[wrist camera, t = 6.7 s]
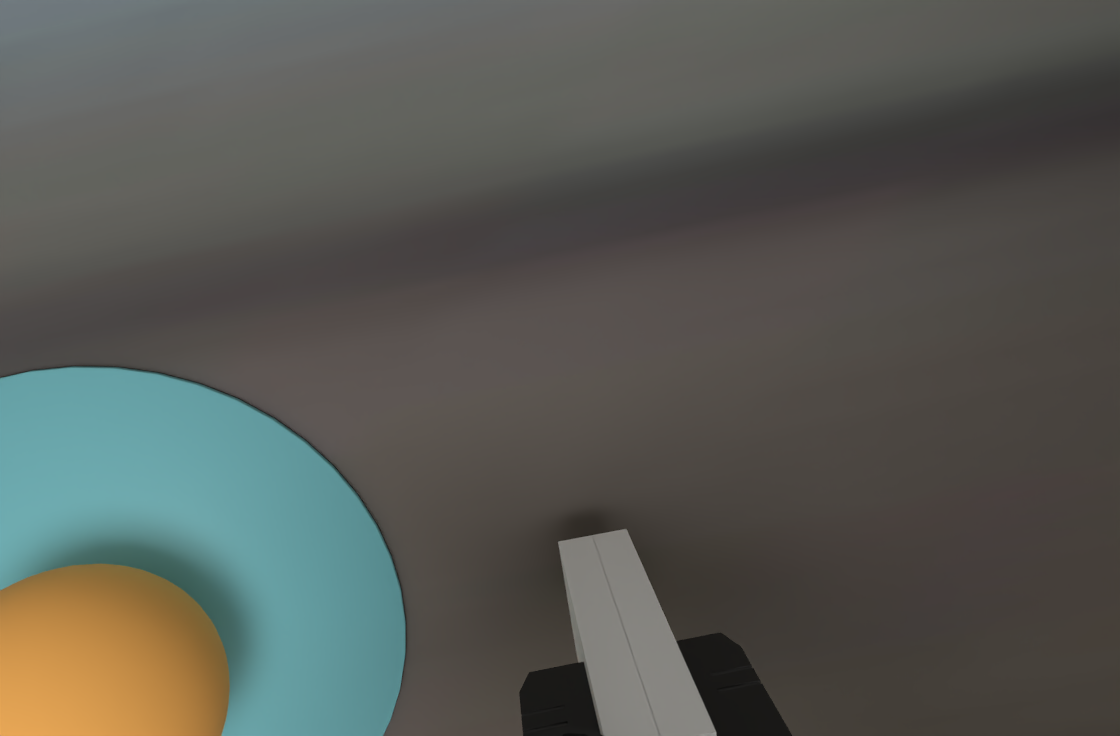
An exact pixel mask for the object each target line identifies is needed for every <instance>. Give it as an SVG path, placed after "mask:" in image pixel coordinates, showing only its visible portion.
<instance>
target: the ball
mask: <svg viewBox="0 0 1120 736" xmlns="http://www.w3.org/2000/svg"><path fill="white" fill-rule="evenodd" d="M229 692H230V682H229V668H228V662H227V657H226V653H225V649H224V646H223V643H222V641H221V639H220V636H219V634H218V632H217V630H216V628H215V626H214V624H213V622H212V621H211V619H210V618H209V617H208V615H207V614H206V613H205V611H204V610H203V609H202V607H201V606H200V605H199V604H198V603H197V602H196V601H195V600H194V599H193V598H192V597H190V596H189V595H188V594H187V593H186V592H185V591H184V590H182V589H181V588H179V587H178V586H176V585H174V584H173V583H171V582H169V581H168V580H166V579H164V578H162V577H159V576H157V575H155V574H152V573H150V572H147V571H144V570H141V569H137V568H132V567H128V566H122V565H113V564H85V565H72V566H67V567H62V568H57V569H53V570H49V571H45V572H42V573H39V574H36V575H33V576H30V577H27V578H25V579H23V580H20V581H18V582H16V583H14V584H12V585H10V586H8V587H6V588H4V589H2V590H0V736H221V735H222V732H223V729H224V725H225V721H226V717H227V711H228V704H229Z"/></svg>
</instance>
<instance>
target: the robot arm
mask: <svg viewBox="0 0 1120 736" xmlns="http://www.w3.org/2000/svg"><path fill="white" fill-rule="evenodd" d="M558 545H559V551H560V557H561V563H562V569H563V575H564V581H565V587H566V593H567V600H568V606H569V612H570V618H571V624H572V630H573V636H574V642H575V648H576V654H577V658H578V663H574V664H569V665H564V666H559V667H554V668H549V669H544V670H539V671H534V672H529V674H528V676H527V678H526V680H525V682H524V684H523V686H522V688H521V690H520V692H519V693H520V704H521V714H522V727H523V736H792V735H791V733H790V731H789V730H788V728H787V726H786V724H785V723H784V721H783V719H782V717H781V716H780V714H779V712H778V710H777V709H776V707H775V705H774V704H773V702H772V700H771V698H770V697H769V695H768V693H767V691H766V690H765V688H764V686H763V684H761V683H760V679H759V677H758V676H757V674H756V672H755V671H754V669H752V666H751V664H750V662H749V660H748V658H747V657H746V655H745V653H744V651H743V650H742V648H741V646H739V645H738V644H736V643H735V642H733V641H732V640H730V639H729V638H728V637H726V636H725V635H723V634H722V633H715V634H710V635H705V636H700V637H695V638H690V639H685V640H680V641H676V640H675V638H674V635H673V633H672V631H671V629H670V626H669V624H668V622H667V620H666V617H665V615H664V613H663V610H662V608H661V606H660V604H659V601H658V599H657V597H656V595H655V592H654V590H653V588H652V586H651V583H650V581H649V579H648V577H647V574H646V572H645V570H644V568H643V565H642V563H641V561H640V558H639V556H638V554H637V552H636V549H635V547H634V545H633V543H632V540H631V538H630V536H629V534H628V531H627V529H623V530H617V531H612V532H607V533H601V534H596V535H591V536H585V537H580V538H575V539H569V540H564V541H559V542H558Z"/></svg>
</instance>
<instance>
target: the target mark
mask: <svg viewBox="0 0 1120 736" xmlns="http://www.w3.org/2000/svg"><path fill="white" fill-rule="evenodd" d="M85 564H113V565H122V566H128V567H132V568H137V569H141V570H144V571H147V572H150V573H152V574H155V575H157V576H159V577H162V578H164V579H166V580H168V581H169V582H171V583H173V584H174V585H176V586H178V587H179V588H181V589H182V590H184V591H185V592H186V593H187V594H188V595H189V596H190V597H192V598H193V599H194V600H195V601H196V602H197V603H198V604H199V605H200V606H201V607H202V609H203V610H204V611H205V613H206V614H207V615H208V617H209V618H210V619H211V621H212V622H213V624H214V626H215V628H216V630H217V632H218V634H219V636H220V639H221V641H222V643H223V646H224V649H225V653H226V657H227V662H228V668H229V682H230V692H229V704H228V711H227V717H226V721H225V725H224V729H223V732H222V735H221V736H383V734H384V732H385V730H386V728H387V726H388V724H389V722H390V720H391V717H392V713H393V710H394V707H395V704H396V700H397V697H398V694H399V691H400V686H401V679H402V673H403V666H404V660H405V653H406V619H405V612H404V605H403V599H402V592H401V587H400V583H399V580H398V576H397V573H396V570H395V566H394V563H393V560H392V556H391V554H390V552H389V550H388V547H387V545H386V543H385V541H384V539H383V537H382V534H381V532H380V530H379V528H378V526H377V524H376V522H375V521H374V519H373V518H372V516H371V514H370V513H369V511H368V510H367V508H366V507H365V505H364V503H363V502H362V500H361V499H360V497H359V496H358V494H357V493H356V492H355V491H354V489H353V488H352V487H351V486H350V485H349V484H348V482H347V481H346V480H345V479H344V478H343V476H342V475H341V474H340V473H339V472H338V470H337V469H336V468H335V467H334V466H333V465H332V464H331V463H330V462H329V461H328V460H327V459H325V458H324V457H323V456H322V455H321V454H320V453H319V452H318V451H317V450H316V449H315V448H313V447H312V446H311V445H310V444H309V443H308V442H307V441H306V440H304V439H303V438H302V437H300V436H299V435H297V434H296V433H294V432H293V431H292V430H290V429H289V428H287V427H286V426H285V425H283V424H282V423H280V422H279V421H278V420H276V419H275V418H273V417H271V416H269V415H268V414H266V413H264V412H262V411H260V410H258V409H256V408H255V407H253V406H251V405H249V404H247V403H245V402H244V401H242V400H240V399H238V398H235V397H233V396H230V395H228V394H225V393H223V392H220V391H218V390H215V389H212V388H210V387H207V386H205V385H202V384H200V383H196V382H192V381H188V380H185V379H181V378H177V377H173V376H169V375H166V374H162V373H157V372H150V371H143V370H135V369H128V368H121V367H94V366H71V367H61V368H51V369H42V370H32V371H28V372H24V373H19V374H15V375H11V376H6V377H2V378H0V590H2V589H4V588H6V587H8V586H10V585H12V584H14V583H16V582H18V581H20V580H23V579H25V578H27V577H30V576H33V575H36V574H39V573H42V572H45V571H49V570H53V569H57V568H62V567H67V566H72V565H85Z"/></svg>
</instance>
